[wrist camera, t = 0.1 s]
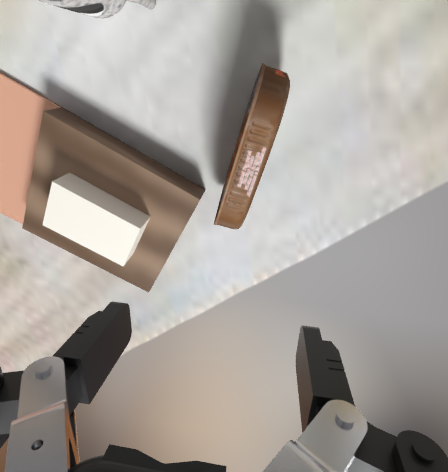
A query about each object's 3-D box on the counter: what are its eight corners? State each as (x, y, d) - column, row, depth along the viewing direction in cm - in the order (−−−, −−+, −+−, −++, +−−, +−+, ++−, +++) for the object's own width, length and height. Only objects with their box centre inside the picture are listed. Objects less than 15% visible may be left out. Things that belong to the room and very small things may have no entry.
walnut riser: (61, 107, 32) (43, 110, 30) (205, 189, 34) (199, 199, 32) (38, 217, 40) (22, 228, 38) (156, 278, 42) (148, 292, 40)
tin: (261, 62, 27) (256, 60, 20) (293, 73, 27) (299, 75, 20) (218, 202, 35) (203, 237, 28) (243, 211, 35) (235, 248, 28)
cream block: (69, 172, 33) (52, 181, 30) (150, 216, 34) (140, 228, 31) (59, 213, 36) (42, 224, 33) (133, 252, 37) (123, 266, 34)
